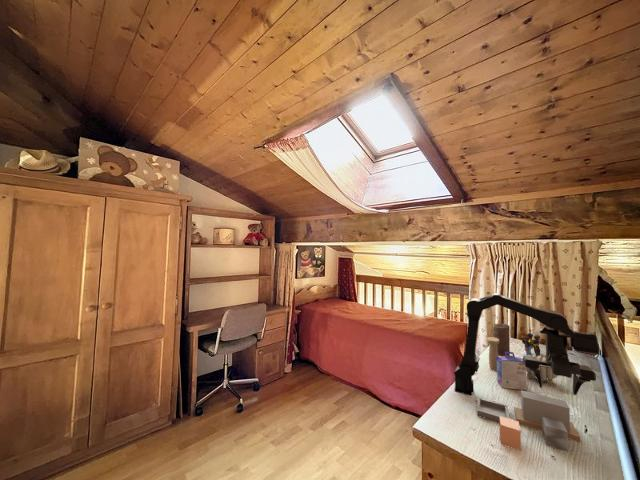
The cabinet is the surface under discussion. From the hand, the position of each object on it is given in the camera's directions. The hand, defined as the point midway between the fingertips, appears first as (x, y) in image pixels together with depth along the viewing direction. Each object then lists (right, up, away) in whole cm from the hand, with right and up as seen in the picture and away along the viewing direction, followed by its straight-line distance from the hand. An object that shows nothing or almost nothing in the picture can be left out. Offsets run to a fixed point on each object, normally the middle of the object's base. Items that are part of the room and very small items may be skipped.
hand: (557, 390), depth 92 cm
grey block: (-12, -10, -12) cm, 19 cm away
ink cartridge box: (0, -11, +21) cm, 24 cm away
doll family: (+33, -12, +51) cm, 62 cm away
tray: (-21, -10, +3) cm, 24 cm away
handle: (+2, -11, +37) cm, 39 cm away
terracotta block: (-25, -10, -11) cm, 29 cm away
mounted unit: (-8, -10, -3) cm, 13 cm away
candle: (+12, -11, +45) cm, 48 cm away
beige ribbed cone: (+17, -11, +26) cm, 33 cm away
